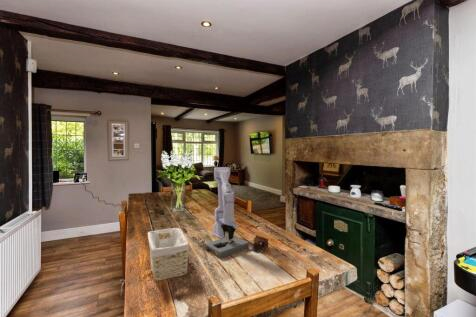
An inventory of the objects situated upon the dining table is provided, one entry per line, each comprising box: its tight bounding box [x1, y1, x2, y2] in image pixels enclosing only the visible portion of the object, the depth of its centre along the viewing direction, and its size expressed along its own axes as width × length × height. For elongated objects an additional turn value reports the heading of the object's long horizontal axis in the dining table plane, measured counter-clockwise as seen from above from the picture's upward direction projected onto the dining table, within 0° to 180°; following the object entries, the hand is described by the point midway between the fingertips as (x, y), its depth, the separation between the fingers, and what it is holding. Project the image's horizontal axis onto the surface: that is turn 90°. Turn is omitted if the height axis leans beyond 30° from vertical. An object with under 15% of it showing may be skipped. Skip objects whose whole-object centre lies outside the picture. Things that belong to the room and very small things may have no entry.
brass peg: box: [225, 231, 235, 246], centre depth 133 cm, size 4×4×9 cm
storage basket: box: [147, 227, 190, 282], centre depth 112 cm, size 24×16×15 cm
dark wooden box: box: [251, 235, 269, 253], centre depth 132 cm, size 12×10×8 cm
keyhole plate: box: [204, 235, 249, 260], centre depth 133 cm, size 20×14×4 cm
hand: (228, 237), depth 133 cm, fingers closed on brass peg, 3 cm apart
